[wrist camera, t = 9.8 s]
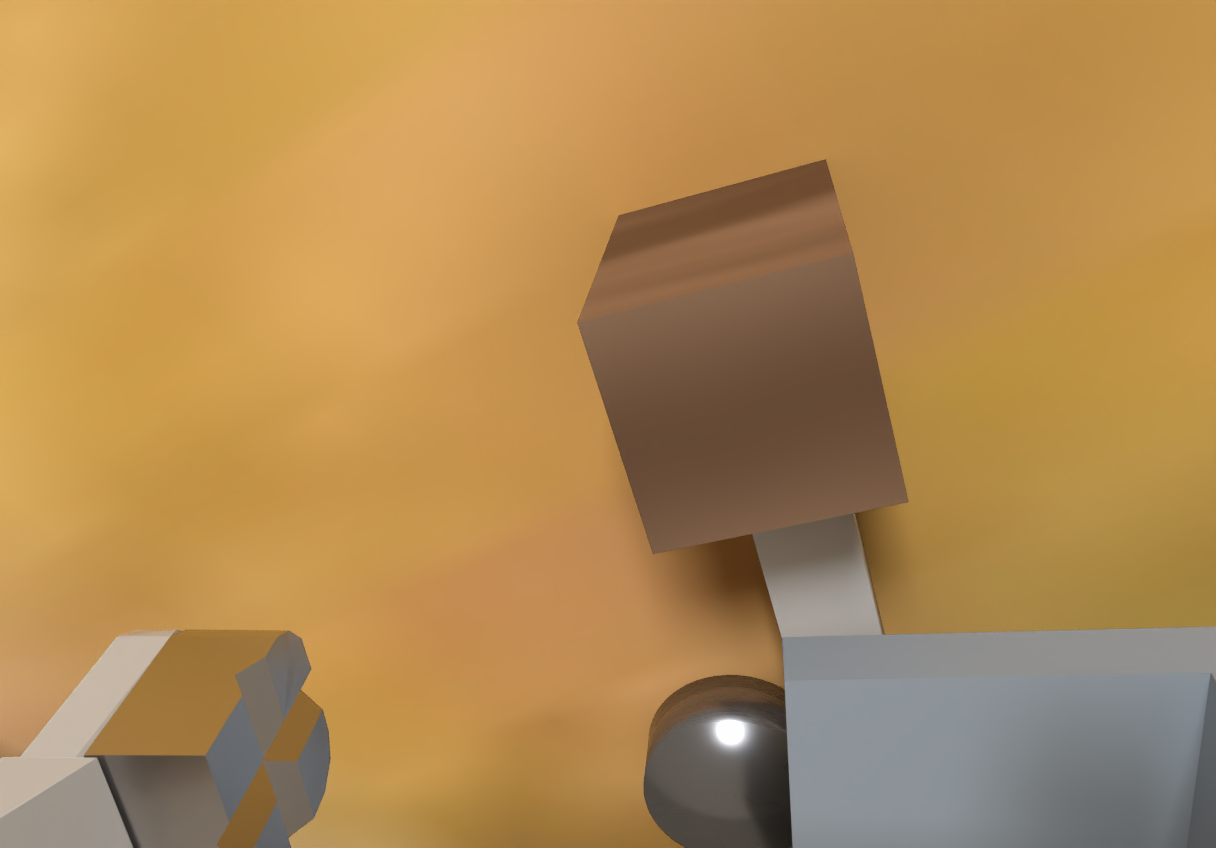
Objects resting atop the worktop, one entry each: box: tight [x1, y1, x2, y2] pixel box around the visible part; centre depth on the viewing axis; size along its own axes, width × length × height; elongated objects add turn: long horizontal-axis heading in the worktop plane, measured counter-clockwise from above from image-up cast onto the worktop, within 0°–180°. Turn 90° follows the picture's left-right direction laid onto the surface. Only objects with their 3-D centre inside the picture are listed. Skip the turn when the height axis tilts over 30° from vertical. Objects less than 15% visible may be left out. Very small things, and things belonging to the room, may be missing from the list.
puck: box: [644, 675, 792, 848], centre depth 26 cm, size 4×4×2 cm
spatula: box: [577, 159, 908, 637], centre depth 22 cm, size 17×4×6 cm, turn 17°
